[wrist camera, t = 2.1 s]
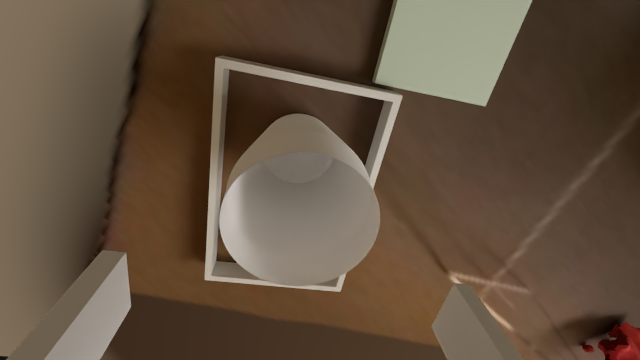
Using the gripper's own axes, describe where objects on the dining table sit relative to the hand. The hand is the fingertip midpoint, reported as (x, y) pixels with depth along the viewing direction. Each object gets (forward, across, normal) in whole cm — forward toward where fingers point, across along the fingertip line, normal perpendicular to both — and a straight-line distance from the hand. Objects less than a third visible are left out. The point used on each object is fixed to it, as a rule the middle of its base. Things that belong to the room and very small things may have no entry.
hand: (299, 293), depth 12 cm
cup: (+17, 0, 0) cm, 17 cm away
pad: (+16, +10, +12) cm, 23 cm away
